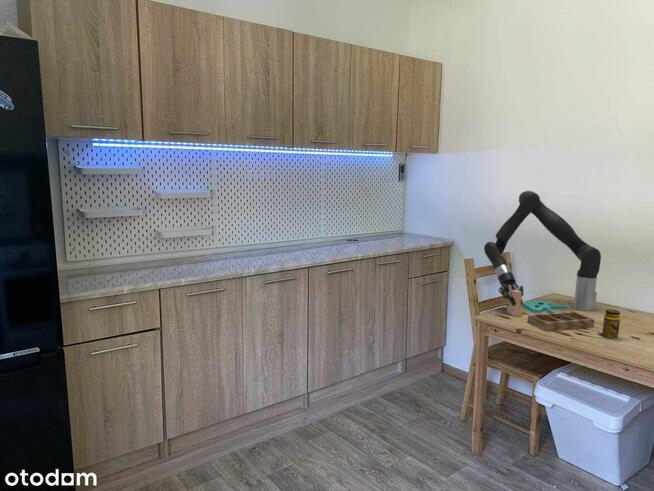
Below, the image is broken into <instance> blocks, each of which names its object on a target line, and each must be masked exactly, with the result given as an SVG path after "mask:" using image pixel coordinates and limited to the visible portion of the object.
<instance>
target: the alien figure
mask: <svg viewBox="0 0 654 491" xmlns="http://www.w3.org/2000/svg"><path fill="white" fill-rule="evenodd" d="M551 304H552V302H551V301H546V300H541V301H540V300H535V301H534V300H530V301H527V300H525V301H523V304H522V305H521V308H524V309H525V308H526V310H527V311H529V310H530V313H533V312H534V313H533V314H538V313H539V314H542V313H543V312H546V314H547V313H559V312H557V310H569V307H570V305H568V304H563V305H562V304H558V305H557V304H552V305H551Z"/></svg>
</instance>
